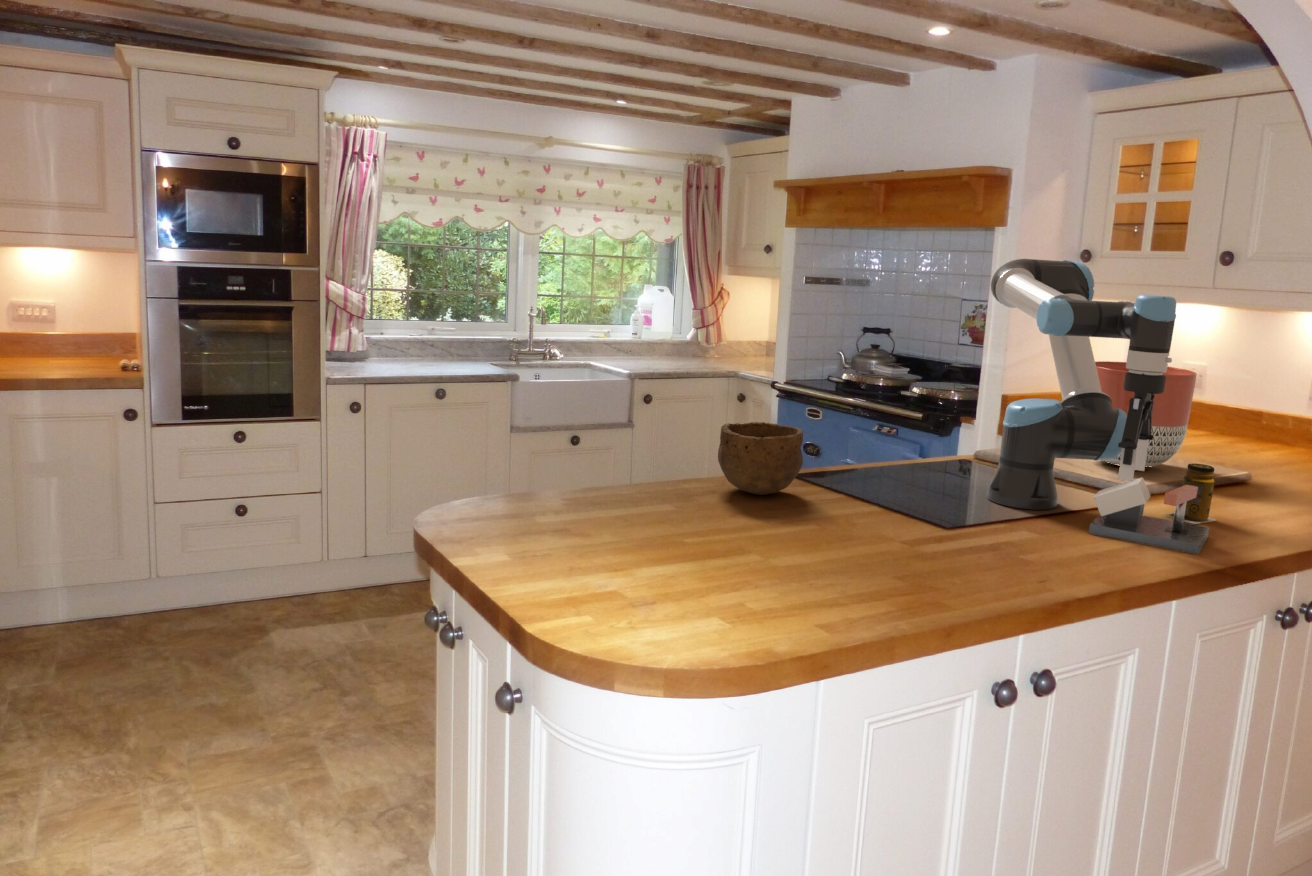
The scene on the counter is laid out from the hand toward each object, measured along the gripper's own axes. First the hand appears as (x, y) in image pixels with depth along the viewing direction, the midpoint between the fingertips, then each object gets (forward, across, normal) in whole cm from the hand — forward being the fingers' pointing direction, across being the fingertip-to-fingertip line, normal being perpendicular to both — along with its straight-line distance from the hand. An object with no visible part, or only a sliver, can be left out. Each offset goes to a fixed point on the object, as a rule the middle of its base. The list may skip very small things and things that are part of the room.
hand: (1131, 475), depth 207 cm
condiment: (+12, +23, -10) cm, 27 cm away
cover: (+7, 0, 0) cm, 7 cm away
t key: (+10, 0, -10) cm, 14 cm away
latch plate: (+12, 0, -5) cm, 13 cm away
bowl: (+12, -28, +71) cm, 77 cm away
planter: (+11, +73, +12) cm, 75 cm away
